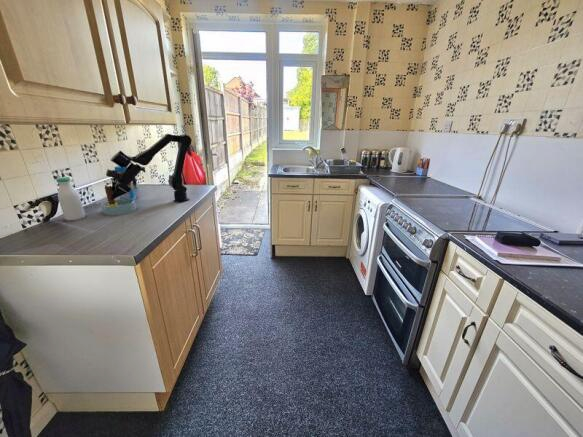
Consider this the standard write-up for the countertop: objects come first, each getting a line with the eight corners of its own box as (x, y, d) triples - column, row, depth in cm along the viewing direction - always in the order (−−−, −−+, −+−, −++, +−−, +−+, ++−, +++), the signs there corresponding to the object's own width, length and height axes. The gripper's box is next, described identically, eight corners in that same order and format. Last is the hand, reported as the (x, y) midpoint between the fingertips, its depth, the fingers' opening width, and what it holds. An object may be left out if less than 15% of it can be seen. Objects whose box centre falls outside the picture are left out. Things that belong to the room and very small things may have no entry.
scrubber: (115, 209, 132) (109, 185, 127) (120, 210, 130) (115, 186, 126) (107, 211, 128) (100, 187, 123) (112, 212, 126) (106, 188, 122)
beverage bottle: (121, 201, 146) (113, 168, 139) (119, 198, 152) (111, 166, 145) (137, 199, 151) (130, 166, 144) (134, 196, 157) (128, 165, 150)
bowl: (124, 205, 139) (122, 197, 138) (142, 209, 134) (140, 200, 132) (97, 213, 127) (94, 204, 125) (115, 217, 121) (113, 208, 120)
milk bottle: (89, 217, 122) (77, 177, 115) (70, 222, 115) (57, 180, 108) (80, 214, 125) (68, 175, 118) (62, 219, 118) (47, 178, 111)
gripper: (112, 161, 130) (91, 184, 127) (117, 165, 117) (94, 191, 114) (132, 174, 138) (113, 196, 135) (139, 180, 125) (118, 204, 122)
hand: (110, 197), depth 126 cm, fingers open, 9 cm apart
